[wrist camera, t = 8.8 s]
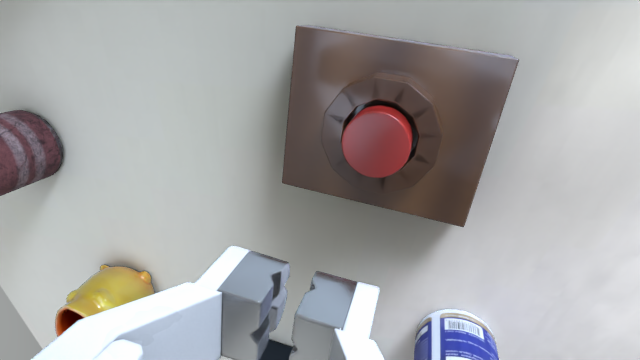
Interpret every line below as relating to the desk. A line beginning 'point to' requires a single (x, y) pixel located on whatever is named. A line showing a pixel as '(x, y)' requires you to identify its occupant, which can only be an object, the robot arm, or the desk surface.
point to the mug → (103, 294)
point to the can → (26, 150)
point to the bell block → (408, 98)
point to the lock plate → (276, 351)
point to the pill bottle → (454, 337)
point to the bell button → (377, 141)
